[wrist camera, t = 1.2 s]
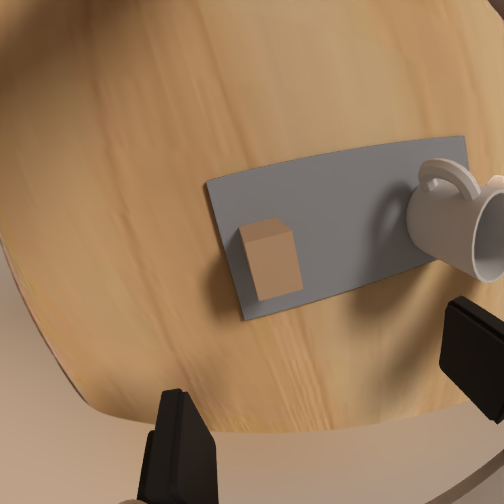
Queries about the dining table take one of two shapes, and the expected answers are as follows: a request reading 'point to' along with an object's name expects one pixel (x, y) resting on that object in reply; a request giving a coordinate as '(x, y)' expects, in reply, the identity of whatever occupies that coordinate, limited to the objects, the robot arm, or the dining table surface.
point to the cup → (458, 219)
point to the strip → (322, 222)
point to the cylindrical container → (496, 182)
